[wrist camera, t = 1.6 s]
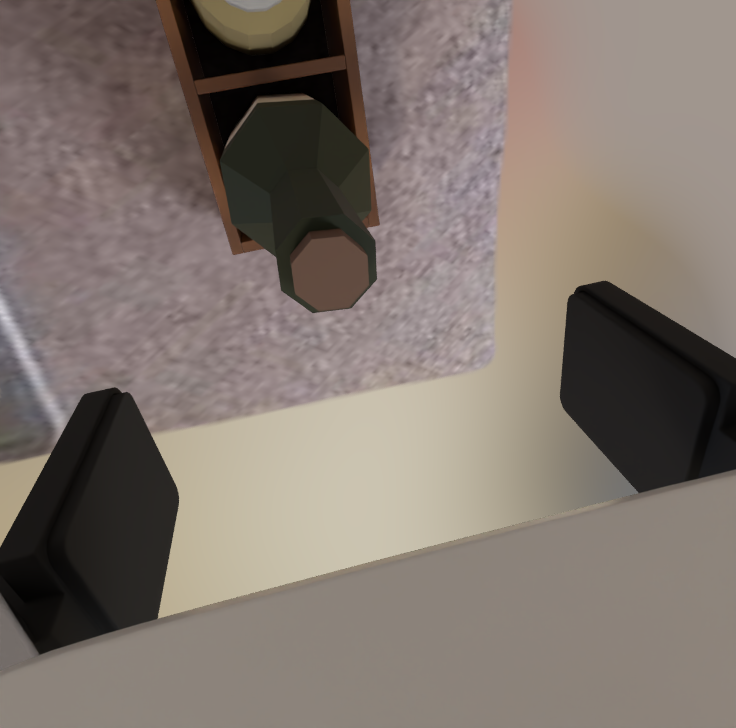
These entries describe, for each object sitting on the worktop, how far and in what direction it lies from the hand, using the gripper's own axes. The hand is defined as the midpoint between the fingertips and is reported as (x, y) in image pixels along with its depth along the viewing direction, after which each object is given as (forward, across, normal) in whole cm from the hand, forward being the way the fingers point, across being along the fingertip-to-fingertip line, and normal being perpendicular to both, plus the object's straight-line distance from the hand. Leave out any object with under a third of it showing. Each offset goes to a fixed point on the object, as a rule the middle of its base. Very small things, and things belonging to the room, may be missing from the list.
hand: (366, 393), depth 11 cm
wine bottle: (+36, 0, -1) cm, 36 cm away
